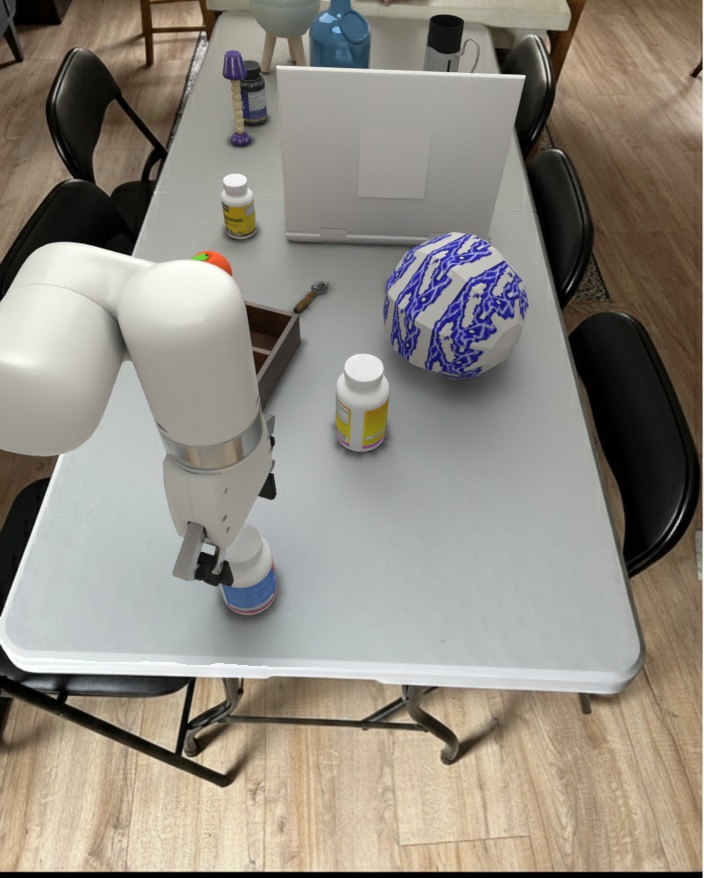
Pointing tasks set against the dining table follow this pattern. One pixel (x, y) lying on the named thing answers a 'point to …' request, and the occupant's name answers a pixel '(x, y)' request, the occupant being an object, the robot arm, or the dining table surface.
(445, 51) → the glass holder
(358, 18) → the wine bottle
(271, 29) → the planter
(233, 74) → the toy lamp
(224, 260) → the clementine
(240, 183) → the supplement bottle
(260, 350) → the caddy
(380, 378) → the supplement bottle
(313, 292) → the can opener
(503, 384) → the dining table surface
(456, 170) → the laptop
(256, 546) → the pill bottle
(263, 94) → the pill bottle
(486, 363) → the ornament
